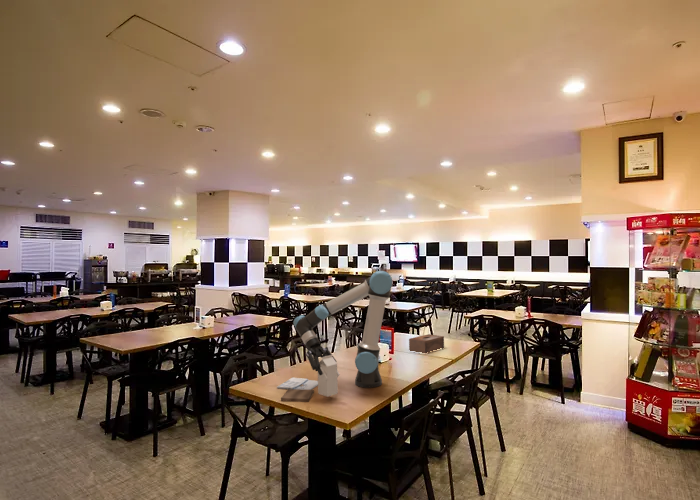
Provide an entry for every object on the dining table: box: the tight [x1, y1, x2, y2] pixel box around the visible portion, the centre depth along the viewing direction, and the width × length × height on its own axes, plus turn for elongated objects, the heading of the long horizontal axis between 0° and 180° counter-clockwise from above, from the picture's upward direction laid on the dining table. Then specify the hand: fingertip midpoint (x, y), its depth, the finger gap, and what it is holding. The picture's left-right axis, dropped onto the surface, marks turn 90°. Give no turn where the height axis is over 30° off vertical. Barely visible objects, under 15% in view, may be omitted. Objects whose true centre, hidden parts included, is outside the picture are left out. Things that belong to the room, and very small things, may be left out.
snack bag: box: [276, 376, 318, 390], centre depth 222 cm, size 19×20×2 cm
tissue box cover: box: [408, 333, 445, 353], centre depth 307 cm, size 26×14×10 cm, turn 134°
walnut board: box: [280, 389, 315, 403], centre depth 203 cm, size 14×14×2 cm
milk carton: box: [317, 354, 339, 398], centre depth 199 cm, size 7×7×19 cm
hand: (332, 378), depth 197 cm, fingers closed on milk carton, 7 cm apart
